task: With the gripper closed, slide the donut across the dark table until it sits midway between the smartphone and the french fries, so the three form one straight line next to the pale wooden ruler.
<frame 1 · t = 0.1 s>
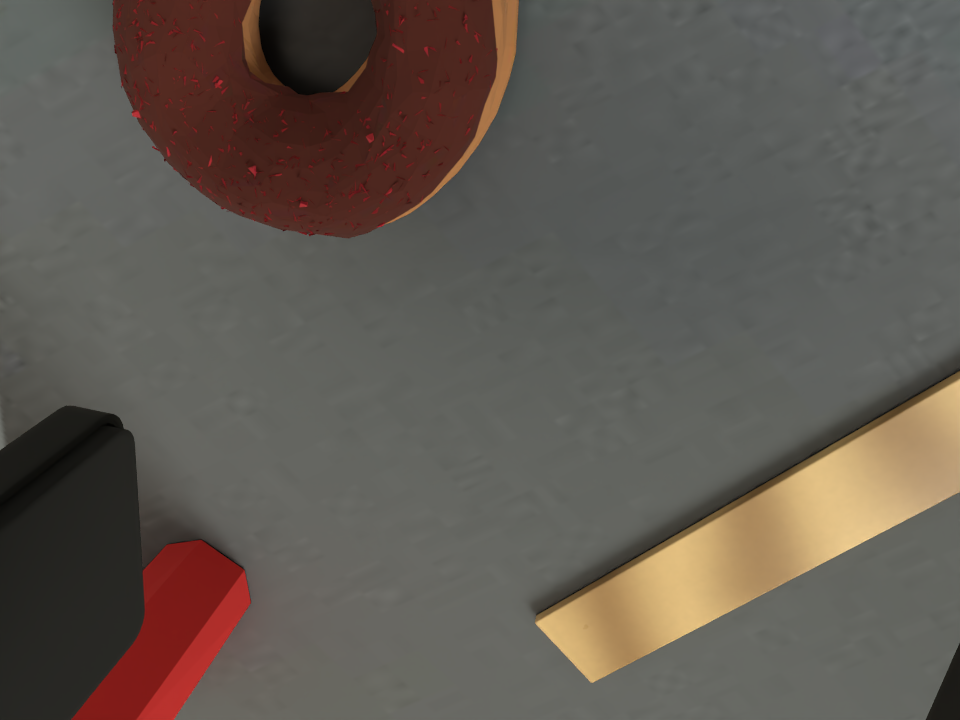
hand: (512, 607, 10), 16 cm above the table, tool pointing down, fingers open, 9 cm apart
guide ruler: (768, 533, 26), on the table
donut: (340, 27, 23), on the table
french fries: (190, 598, 32), on the table
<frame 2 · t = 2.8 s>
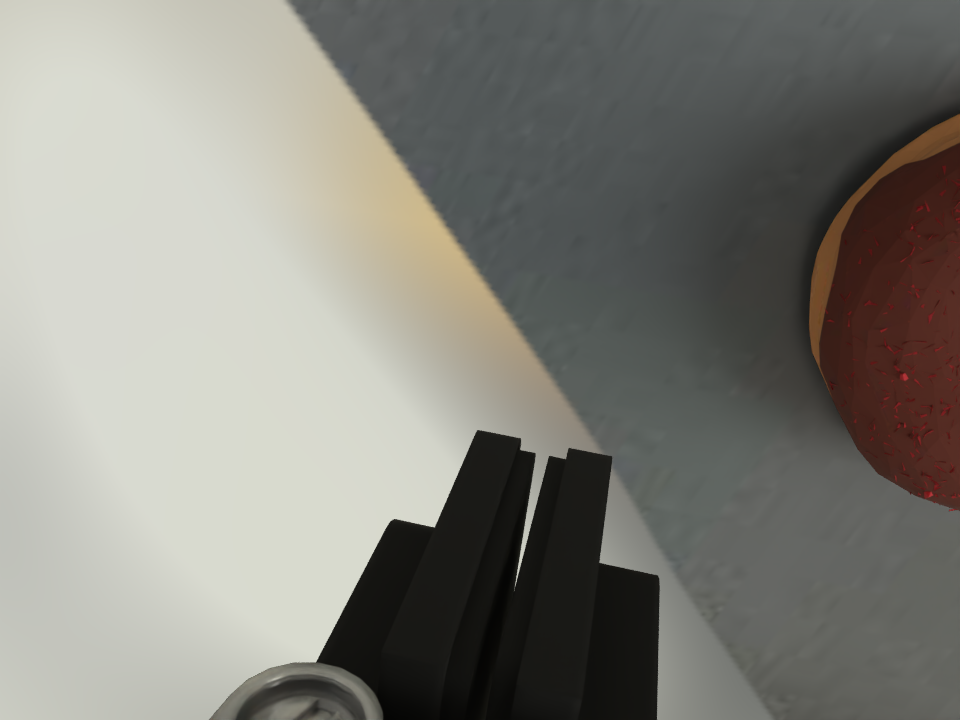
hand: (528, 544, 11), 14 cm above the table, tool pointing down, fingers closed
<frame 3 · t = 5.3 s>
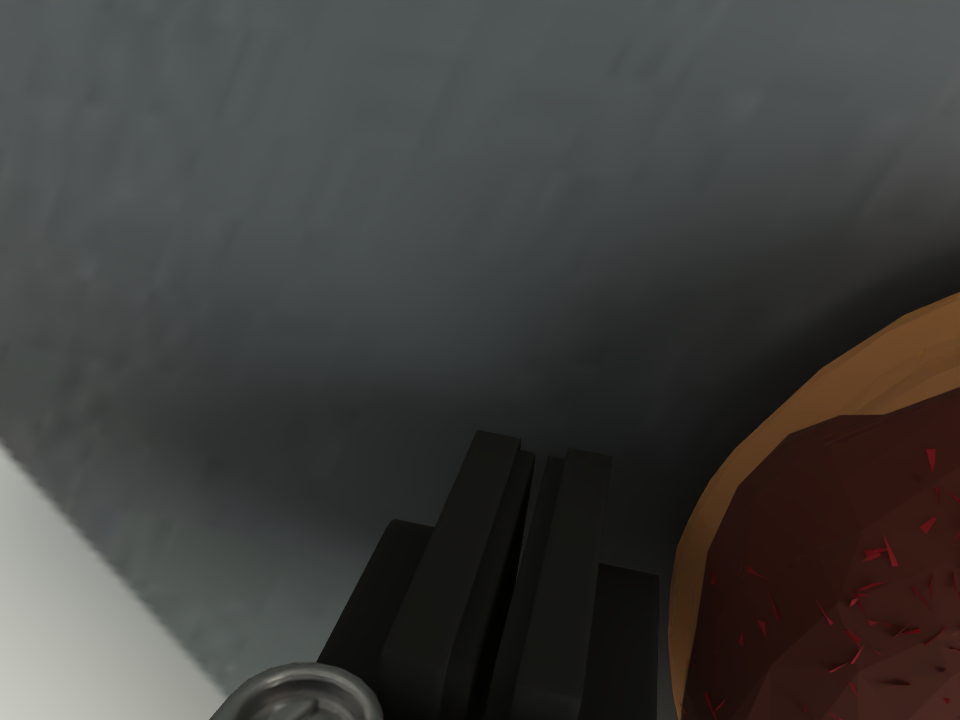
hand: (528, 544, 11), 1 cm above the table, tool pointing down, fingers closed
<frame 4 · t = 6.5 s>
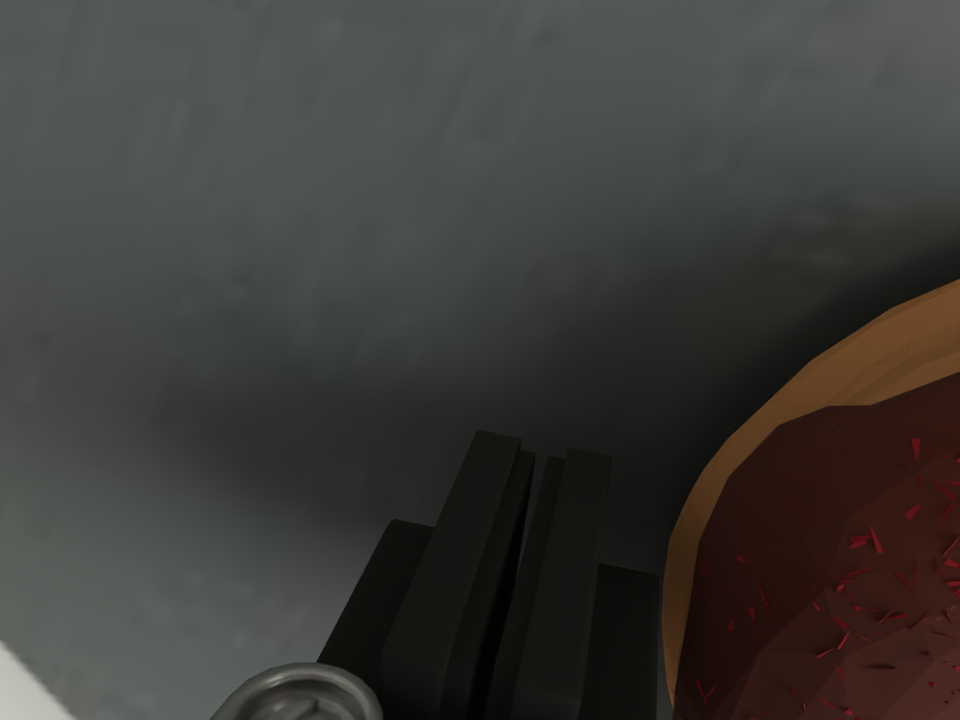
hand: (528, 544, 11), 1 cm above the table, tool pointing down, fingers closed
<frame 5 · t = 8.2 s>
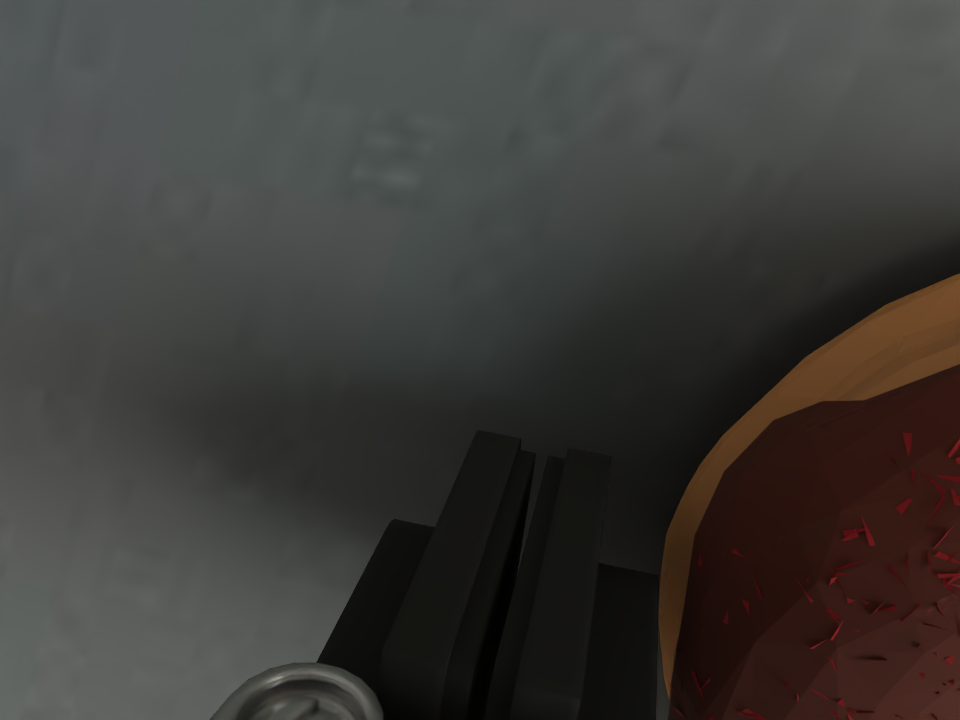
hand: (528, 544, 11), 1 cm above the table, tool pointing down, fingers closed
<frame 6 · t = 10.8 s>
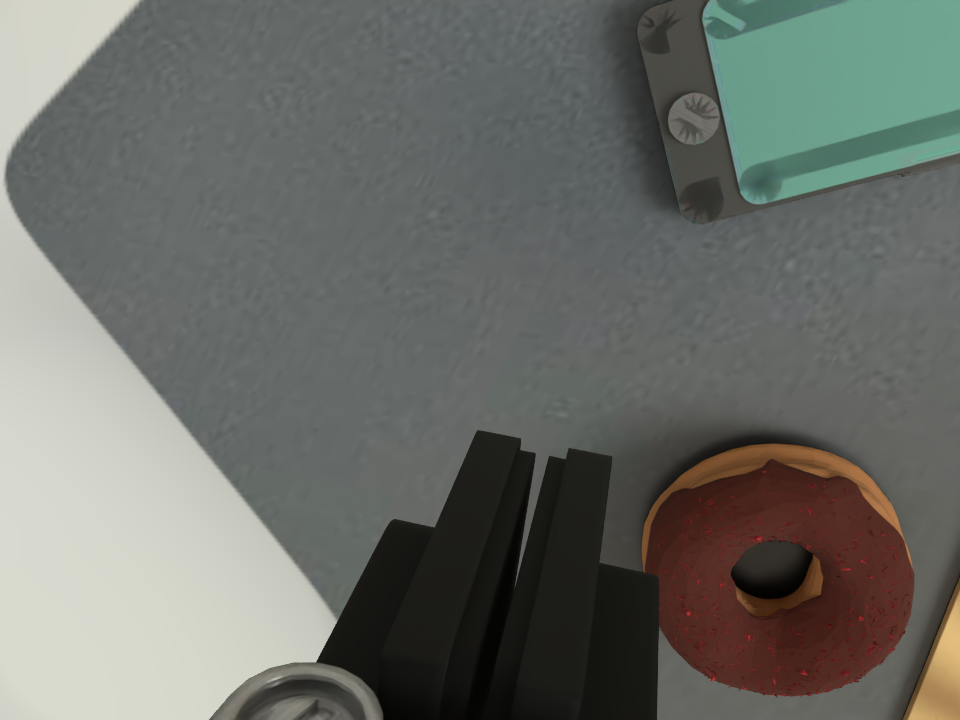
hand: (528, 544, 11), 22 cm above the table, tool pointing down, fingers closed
smartphone: (895, 54, 28), on the table
donut: (766, 541, 35), on the table
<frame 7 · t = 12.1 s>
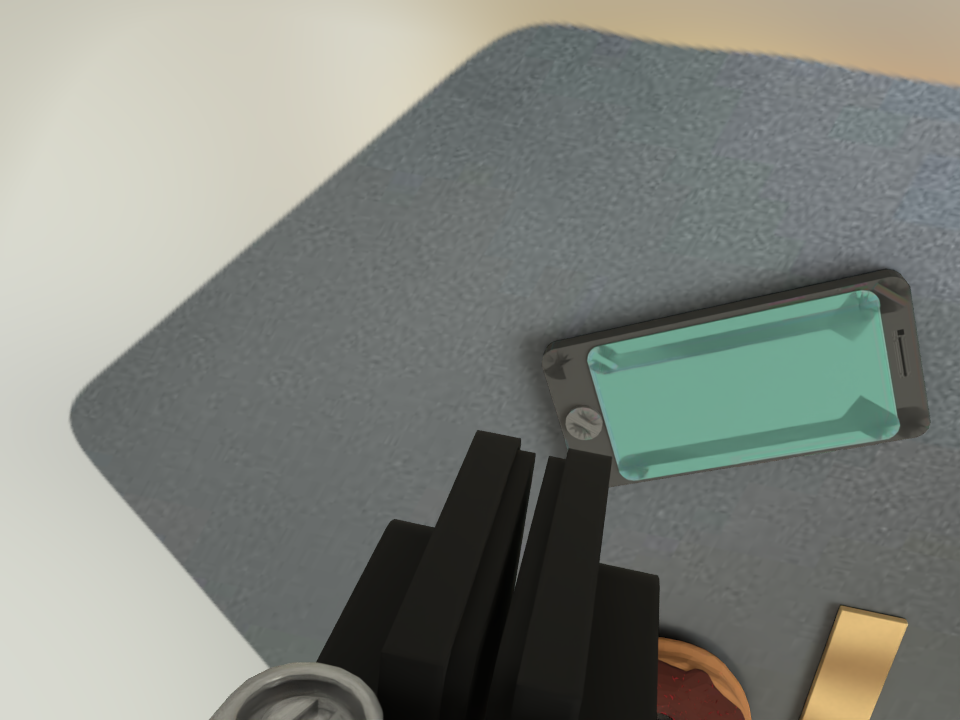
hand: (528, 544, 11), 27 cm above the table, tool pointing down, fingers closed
smartphone: (728, 382, 38), on the table
donut: (653, 697, 46), on the table
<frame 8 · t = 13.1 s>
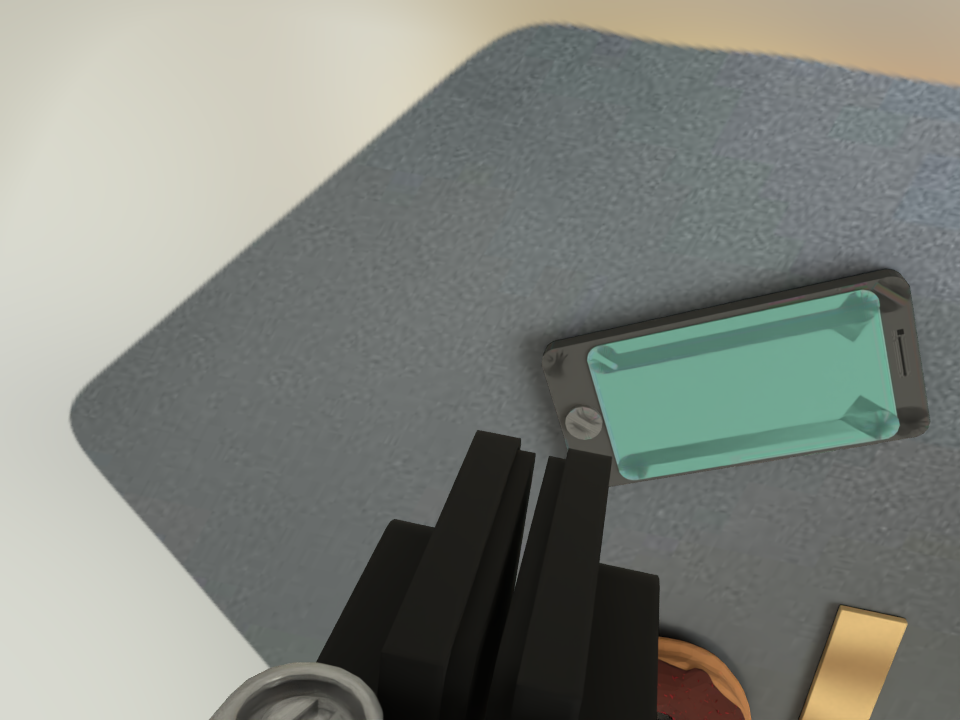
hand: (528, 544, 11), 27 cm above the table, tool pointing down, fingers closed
smartphone: (728, 382, 38), on the table
donut: (653, 697, 46), on the table
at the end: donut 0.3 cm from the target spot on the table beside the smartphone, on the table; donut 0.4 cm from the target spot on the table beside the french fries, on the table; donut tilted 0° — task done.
